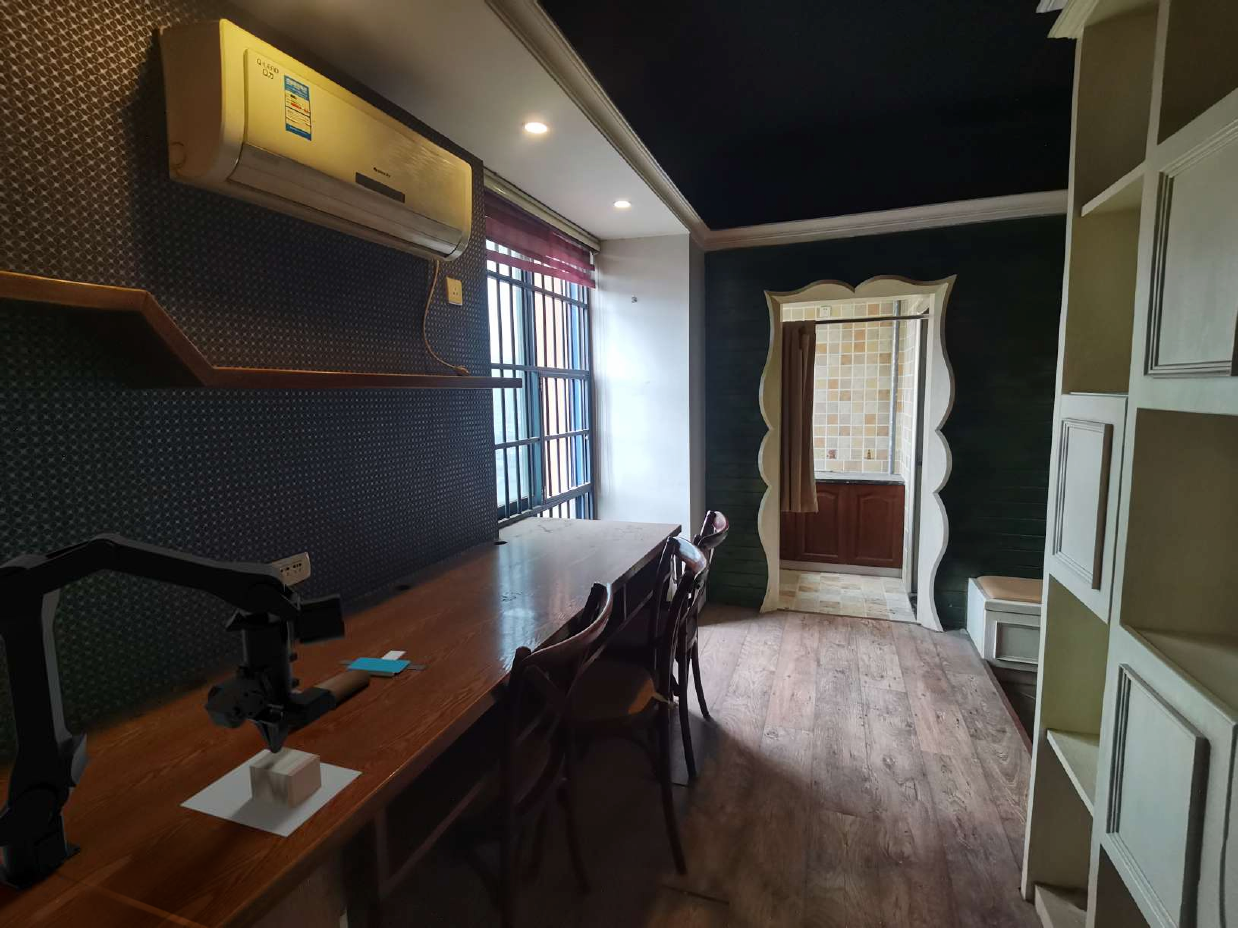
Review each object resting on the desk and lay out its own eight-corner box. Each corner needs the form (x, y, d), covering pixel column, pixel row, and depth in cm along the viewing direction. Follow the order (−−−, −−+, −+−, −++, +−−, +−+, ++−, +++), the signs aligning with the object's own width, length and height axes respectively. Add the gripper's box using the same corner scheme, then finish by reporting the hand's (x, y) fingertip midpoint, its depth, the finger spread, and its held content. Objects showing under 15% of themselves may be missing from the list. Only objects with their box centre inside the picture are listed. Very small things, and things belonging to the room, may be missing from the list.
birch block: (249, 765, 86) (291, 776, 83) (278, 745, 90) (319, 755, 88) (252, 796, 86) (294, 808, 84) (281, 775, 91) (321, 785, 89)
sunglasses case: (338, 677, 123) (349, 653, 121) (363, 697, 122) (374, 674, 120) (262, 723, 106) (274, 696, 104) (290, 748, 105) (302, 721, 103)
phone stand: (438, 656, 134) (438, 650, 134) (412, 682, 122) (411, 674, 122) (358, 651, 137) (358, 644, 137) (325, 675, 125) (325, 668, 125)
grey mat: (180, 807, 85) (179, 805, 85) (265, 751, 98) (265, 748, 98) (286, 839, 79) (286, 836, 79) (362, 774, 92) (362, 772, 92)
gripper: (164, 668, 81) (176, 772, 82) (267, 688, 75) (277, 800, 77) (239, 635, 91) (247, 729, 93) (334, 651, 85) (342, 751, 87)
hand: (276, 751), depth 87 cm, fingers closed
